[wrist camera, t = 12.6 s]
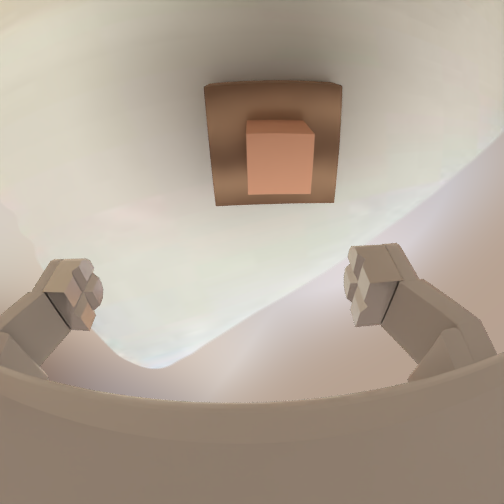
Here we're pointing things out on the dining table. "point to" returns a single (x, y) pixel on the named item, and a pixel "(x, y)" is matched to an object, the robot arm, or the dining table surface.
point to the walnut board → (271, 108)
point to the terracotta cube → (279, 157)
